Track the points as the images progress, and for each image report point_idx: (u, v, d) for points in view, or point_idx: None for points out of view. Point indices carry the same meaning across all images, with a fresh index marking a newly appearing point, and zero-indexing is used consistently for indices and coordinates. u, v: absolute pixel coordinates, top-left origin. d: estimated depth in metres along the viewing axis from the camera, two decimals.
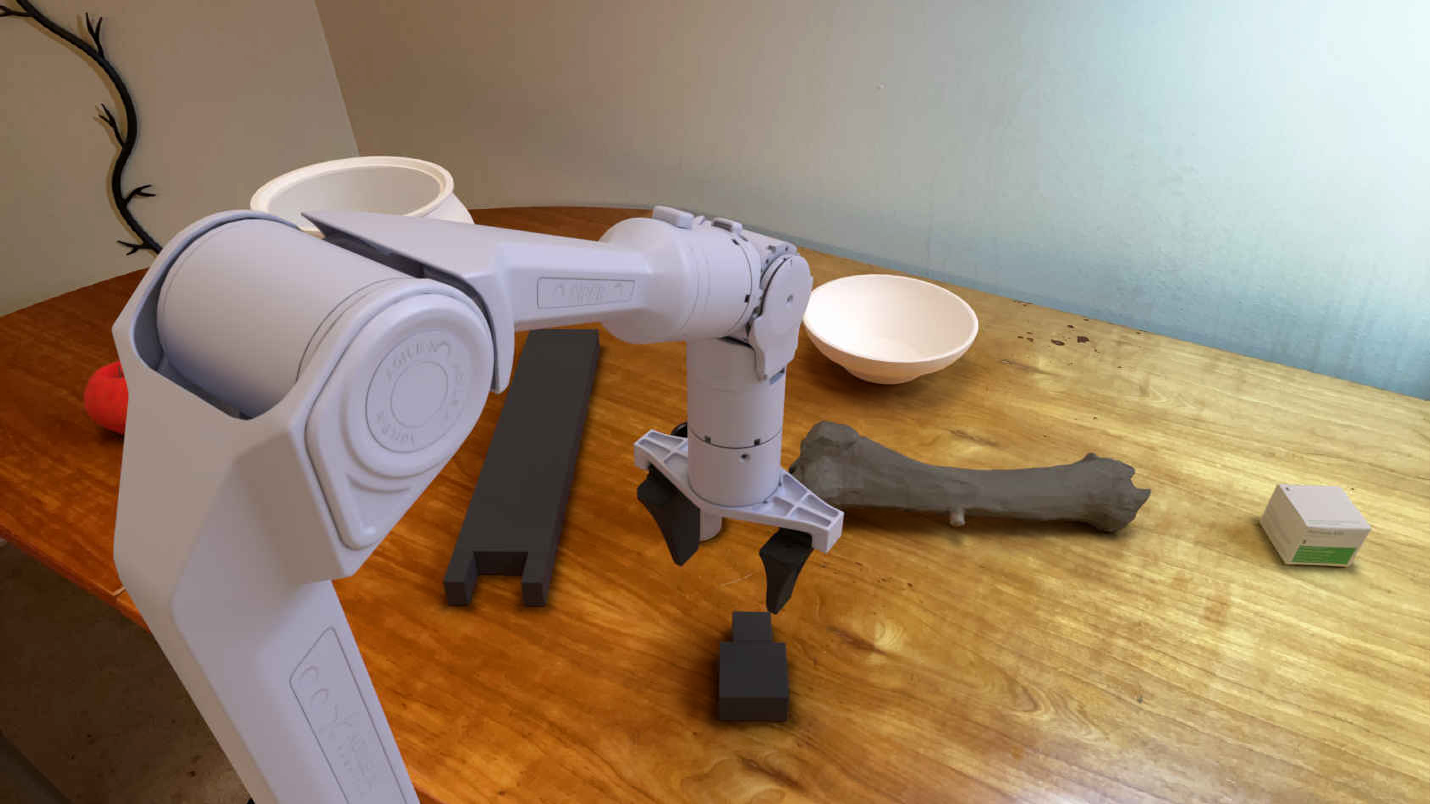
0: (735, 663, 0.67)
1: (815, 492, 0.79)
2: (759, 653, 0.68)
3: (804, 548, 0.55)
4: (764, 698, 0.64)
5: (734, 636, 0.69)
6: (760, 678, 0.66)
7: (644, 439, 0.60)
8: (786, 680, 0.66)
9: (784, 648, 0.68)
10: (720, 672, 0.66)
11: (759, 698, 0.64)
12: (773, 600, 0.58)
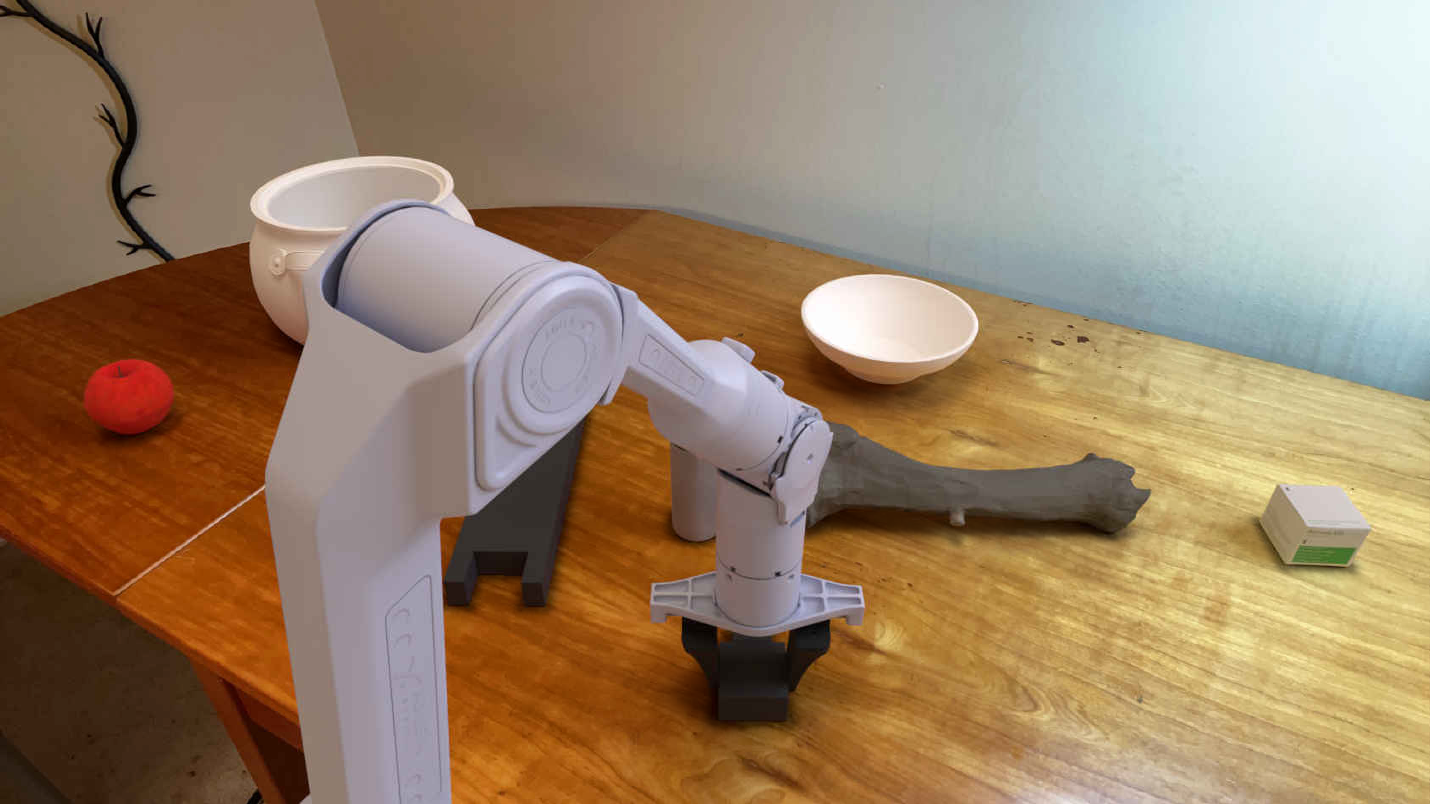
0: (734, 663, 0.67)
1: None
2: (758, 653, 0.68)
3: (825, 628, 0.62)
4: (764, 698, 0.64)
5: (733, 636, 0.69)
6: (759, 678, 0.66)
7: (655, 595, 0.62)
8: (785, 680, 0.66)
9: (783, 648, 0.68)
10: (719, 672, 0.66)
11: (758, 698, 0.64)
12: (796, 681, 0.65)
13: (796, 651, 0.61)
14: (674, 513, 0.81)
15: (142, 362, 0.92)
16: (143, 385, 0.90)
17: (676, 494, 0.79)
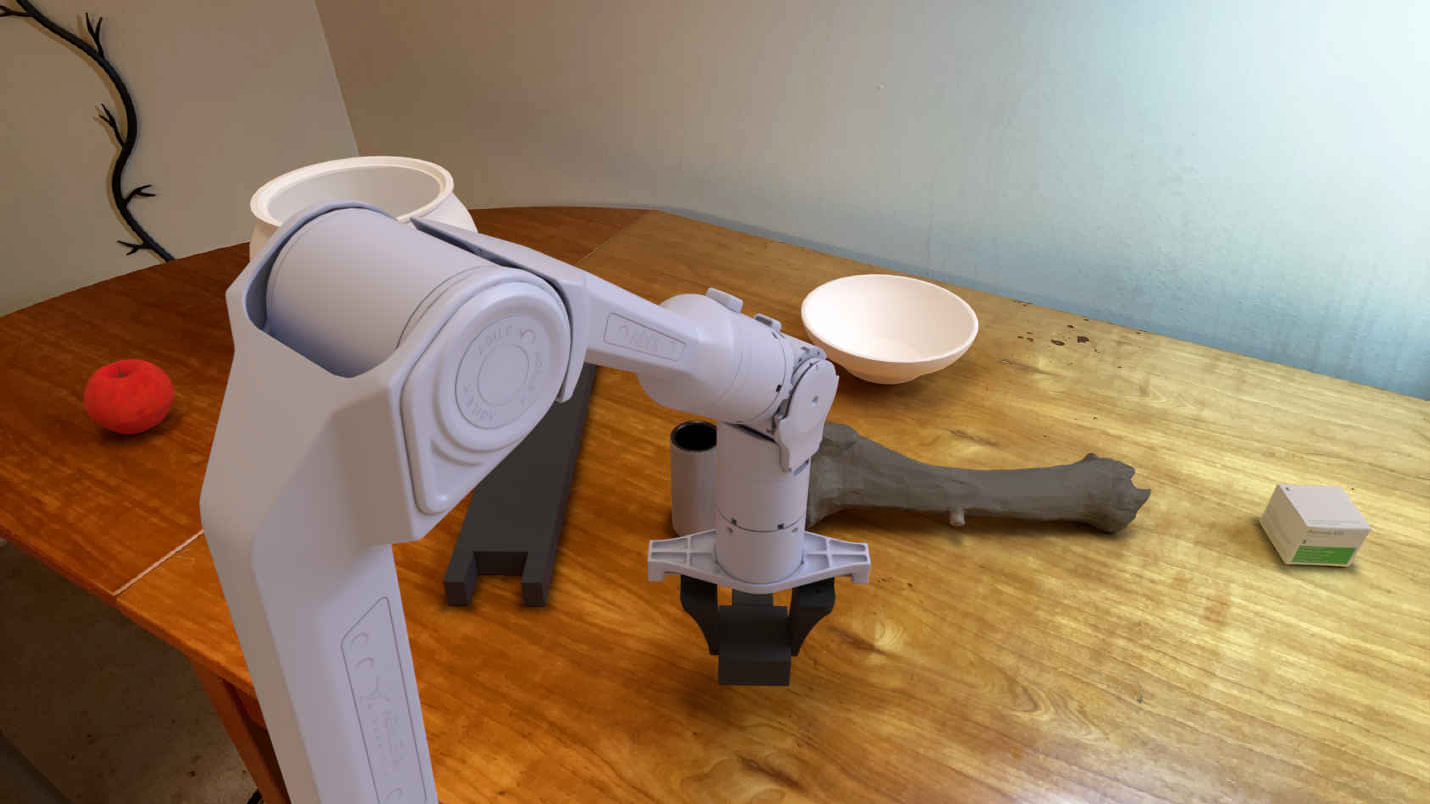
0: (735, 626, 0.64)
1: (815, 492, 0.79)
2: (760, 616, 0.65)
3: (830, 587, 0.60)
4: (766, 661, 0.62)
5: (734, 599, 0.67)
6: (761, 641, 0.63)
7: (652, 552, 0.59)
8: (788, 643, 0.63)
9: (786, 611, 0.66)
10: (719, 635, 0.64)
11: (759, 661, 0.62)
12: (799, 644, 0.63)
13: (799, 610, 0.59)
14: (674, 513, 0.81)
15: (142, 362, 0.92)
16: (143, 385, 0.90)
17: (676, 494, 0.79)
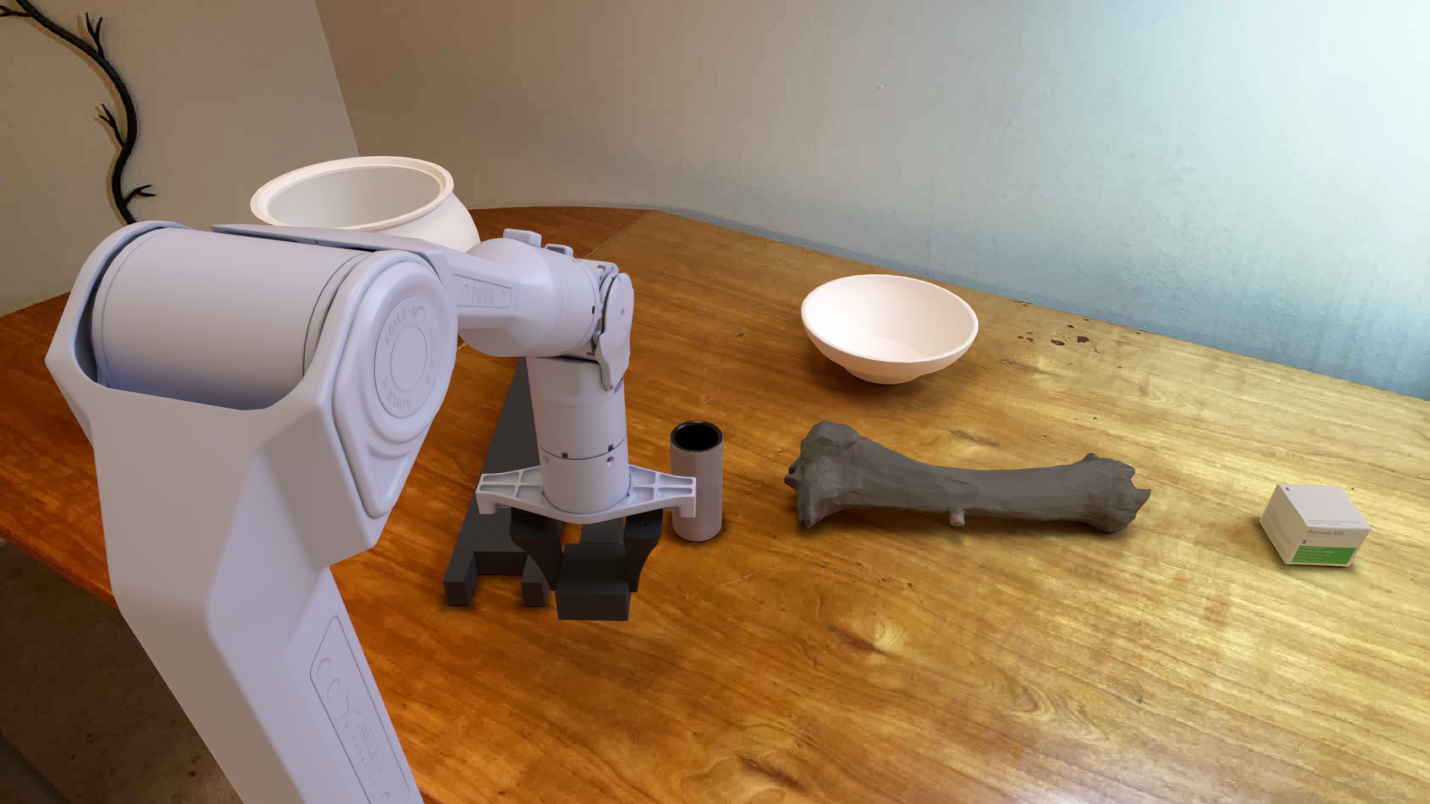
0: (577, 562, 0.65)
1: (815, 492, 0.79)
2: (603, 553, 0.66)
3: (658, 520, 0.61)
4: (601, 595, 0.63)
5: (581, 538, 0.67)
6: (600, 576, 0.64)
7: (482, 485, 0.60)
8: (626, 578, 0.64)
9: None
10: (560, 571, 0.65)
11: (595, 595, 0.63)
12: (635, 579, 0.64)
13: (624, 541, 0.60)
14: (674, 513, 0.81)
15: None
16: None
17: None
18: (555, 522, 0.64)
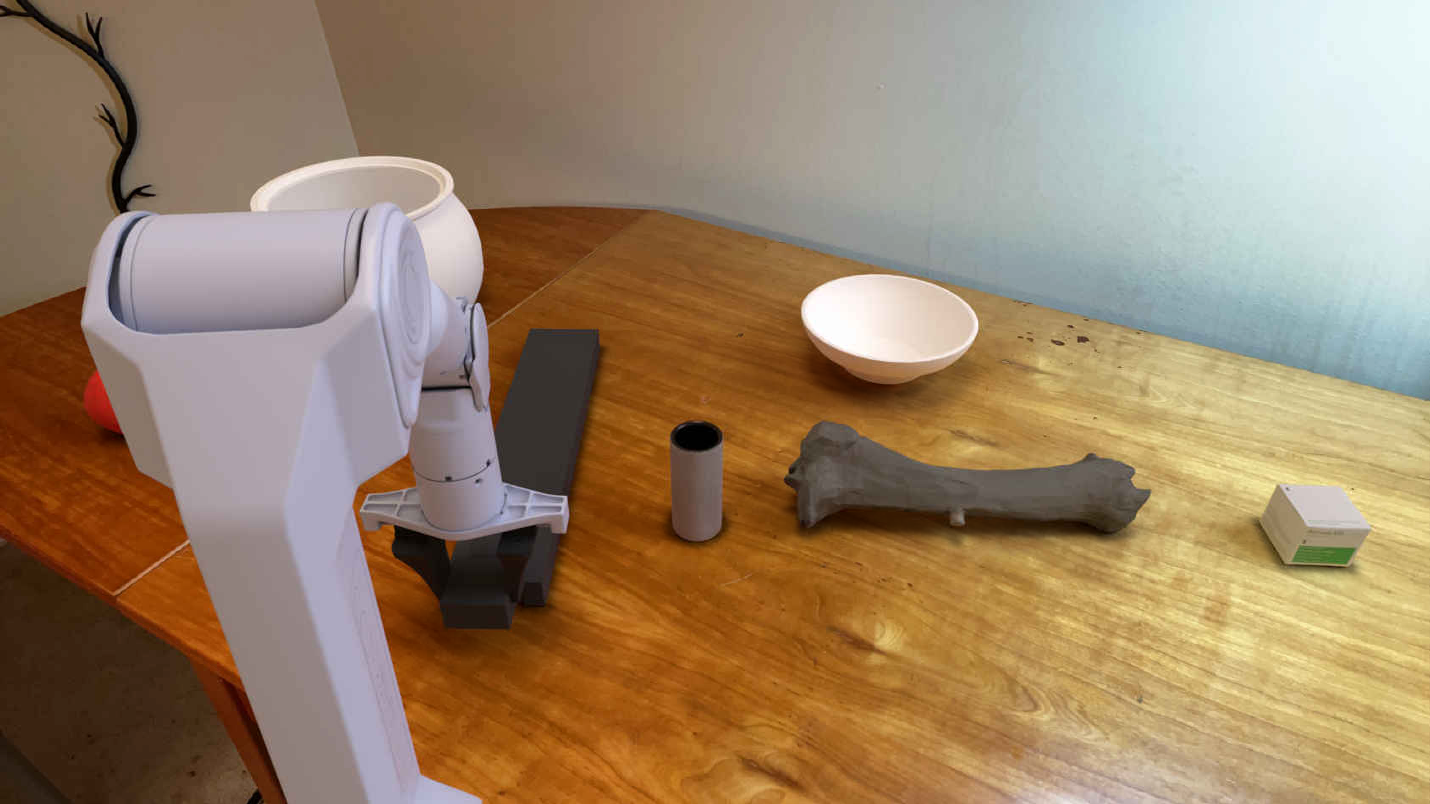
0: (463, 574, 0.70)
1: (815, 492, 0.79)
2: (489, 566, 0.71)
3: (531, 536, 0.65)
4: (482, 605, 0.68)
5: (470, 551, 0.72)
6: (483, 587, 0.69)
7: (366, 504, 0.65)
8: (507, 589, 0.69)
9: None
10: (446, 582, 0.69)
11: (476, 605, 0.68)
12: (515, 590, 0.68)
13: (498, 556, 0.64)
14: (674, 513, 0.81)
15: None
16: None
17: (676, 494, 0.79)
18: (440, 537, 0.68)
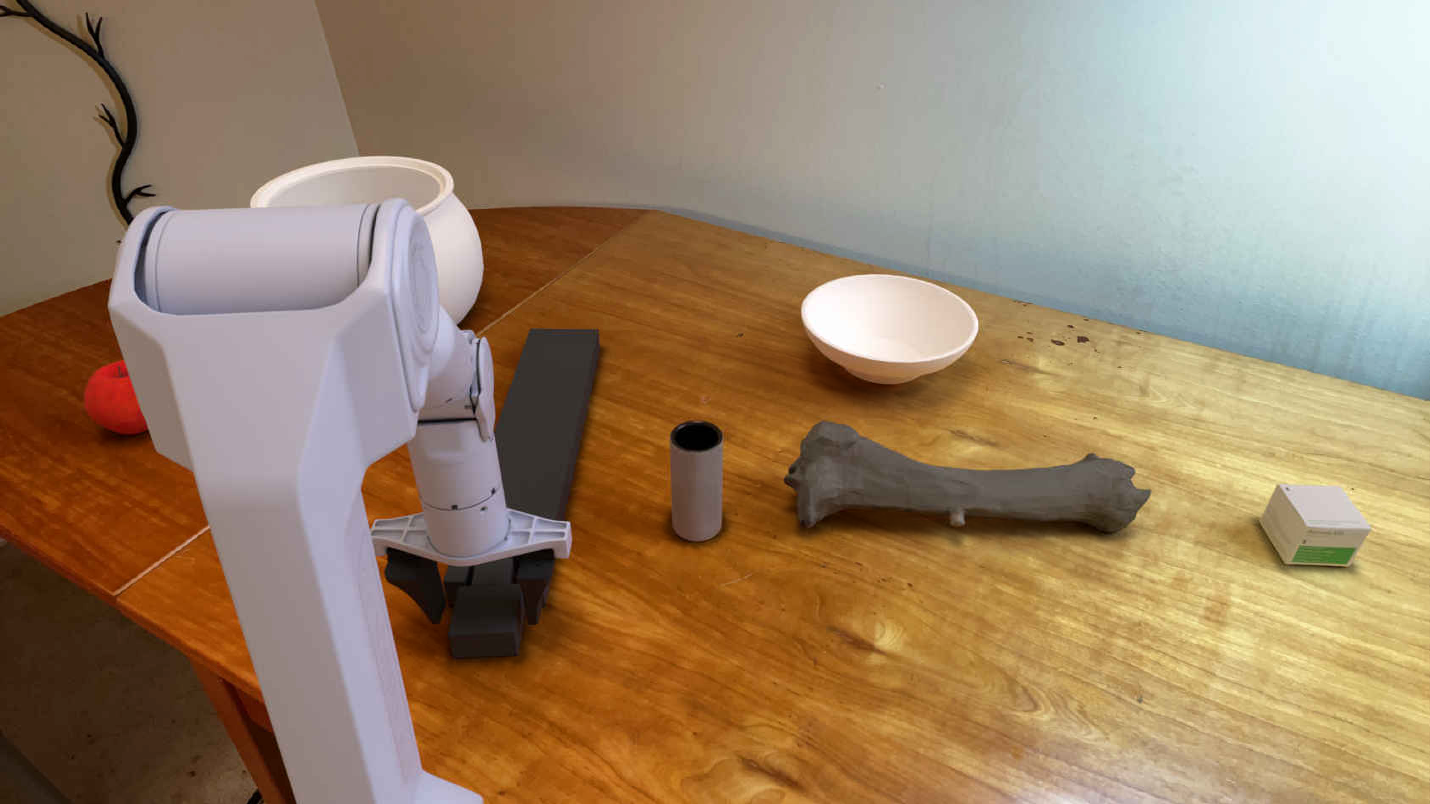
0: (469, 604, 0.71)
1: (815, 492, 0.79)
2: (494, 594, 0.72)
3: (549, 561, 0.67)
4: (491, 633, 0.69)
5: (473, 581, 0.73)
6: (490, 616, 0.70)
7: (374, 530, 0.66)
8: (514, 616, 0.70)
9: (518, 589, 0.73)
10: (453, 613, 0.71)
11: (485, 634, 0.69)
12: (533, 613, 0.70)
13: (517, 581, 0.66)
14: (674, 513, 0.81)
15: None
16: None
17: (676, 494, 0.79)
18: (433, 561, 0.70)
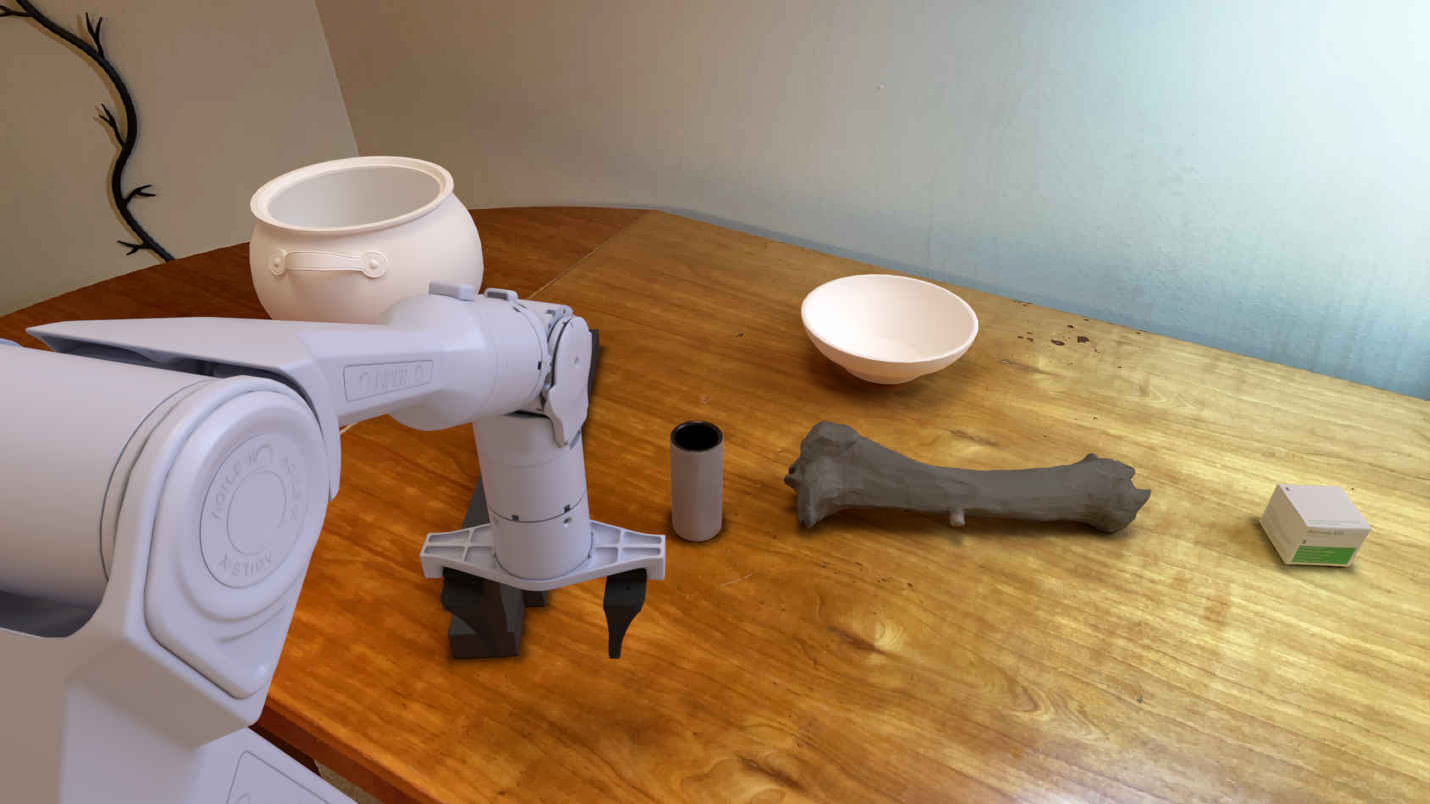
0: None
1: (815, 492, 0.79)
2: None
3: (641, 583, 0.55)
4: None
5: None
6: None
7: (428, 546, 0.54)
8: (514, 616, 0.70)
9: (518, 589, 0.73)
10: None
11: None
12: (617, 645, 0.58)
13: (604, 608, 0.54)
14: (674, 513, 0.81)
15: None
16: None
17: (676, 494, 0.79)
18: (495, 583, 0.58)
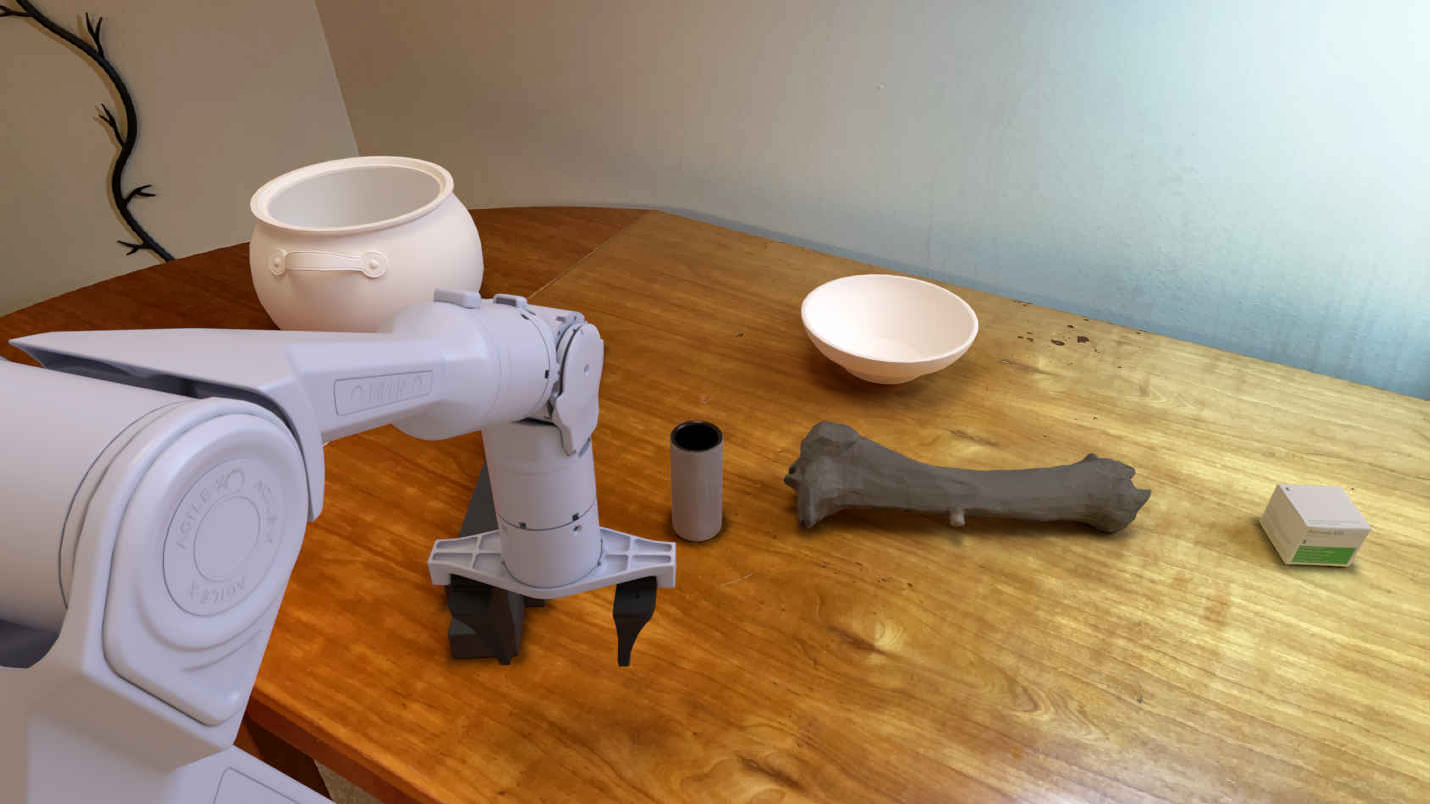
0: None
1: (815, 492, 0.79)
2: None
3: (651, 591, 0.54)
4: None
5: None
6: None
7: (435, 553, 0.54)
8: (514, 616, 0.70)
9: None
10: None
11: None
12: (626, 653, 0.57)
13: (614, 617, 0.53)
14: (674, 513, 0.81)
15: None
16: None
17: (676, 494, 0.79)
18: (503, 590, 0.57)
